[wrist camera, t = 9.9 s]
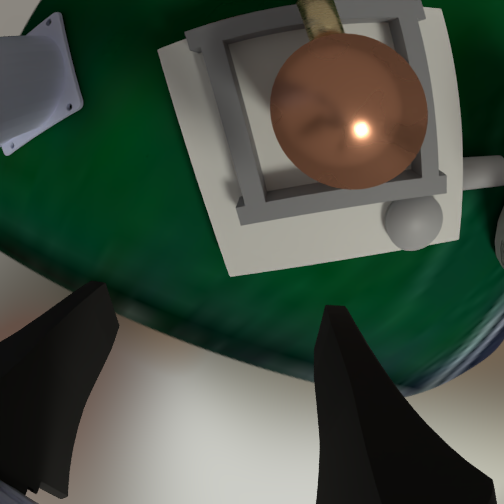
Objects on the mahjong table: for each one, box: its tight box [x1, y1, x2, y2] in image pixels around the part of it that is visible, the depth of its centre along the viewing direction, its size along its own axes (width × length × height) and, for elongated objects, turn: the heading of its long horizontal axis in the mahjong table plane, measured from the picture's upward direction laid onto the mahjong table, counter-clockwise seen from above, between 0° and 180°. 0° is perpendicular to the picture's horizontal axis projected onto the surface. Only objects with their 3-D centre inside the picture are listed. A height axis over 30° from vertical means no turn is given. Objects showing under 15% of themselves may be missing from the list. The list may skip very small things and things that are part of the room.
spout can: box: [270, 0, 428, 190], centre depth 10 cm, size 5×7×6 cm
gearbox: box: [157, 0, 504, 277], centre depth 14 cm, size 19×14×4 cm
